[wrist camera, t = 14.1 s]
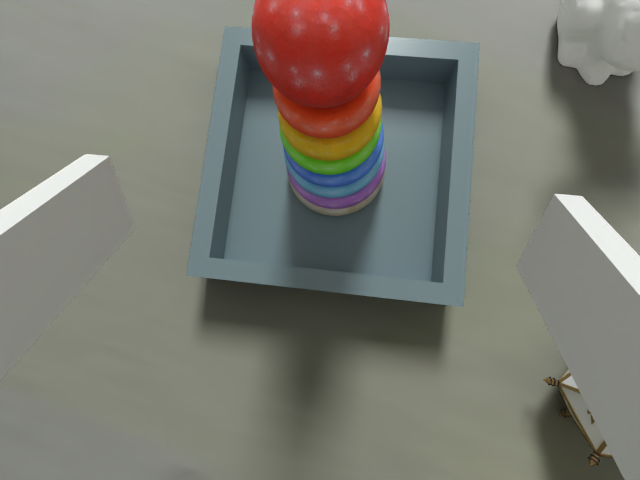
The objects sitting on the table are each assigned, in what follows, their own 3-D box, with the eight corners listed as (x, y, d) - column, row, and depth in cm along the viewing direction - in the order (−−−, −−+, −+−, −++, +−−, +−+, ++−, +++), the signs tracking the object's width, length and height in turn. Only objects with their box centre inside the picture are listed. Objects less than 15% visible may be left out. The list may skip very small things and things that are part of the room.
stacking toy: (345, 108, 30) (358, -183, 11) (402, 181, 29) (522, -4, 10) (270, 161, 29) (154, -43, 11) (325, 236, 28) (301, 153, 10)
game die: (532, 375, 31) (506, 385, 23) (617, 312, 28) (619, 300, 20) (634, 485, 25) (643, 543, 18) (751, 419, 23) (819, 455, 15)
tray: (206, 276, 29) (186, 275, 25) (238, 58, 32) (224, 26, 28) (445, 303, 28) (463, 306, 24) (461, 74, 30) (479, 42, 26)
